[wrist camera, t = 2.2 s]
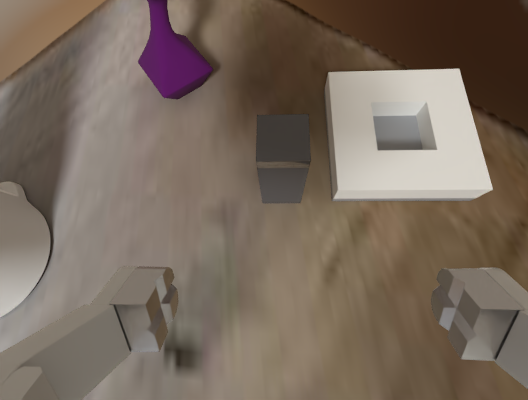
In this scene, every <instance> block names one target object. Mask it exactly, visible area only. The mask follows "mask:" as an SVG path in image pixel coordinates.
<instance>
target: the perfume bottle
mask: <svg viewBox="0 0 528 400" xmlns="http://www.w3.org/2000/svg"><path fill="white" fill-rule="evenodd" d="M147 1H148V3H149V8H150V21H151V31H150V36H149V40H148V42H147V44H146V47H145V49H144V51H143V53H142V55H141V57H140V59H139V61H138V63H139V64H140V66H141V67H142V69H143V70H144V71H145V73H146V74H147V76H148V77H149V78H150V80H151V81H152V82H153V84H154V85H155V87H156V88H157V89H158V91H159V92H160V93H161V95H162V96H163V97H164V98H170V99H179V98H181V97H183V96H185V95H186V94H188V93H190V92H192V91H193V90H195V89H197V88H198V87H200V86H201V85H202V84H203V83H204V81H205V80H206V79H207V77H208V76H209V75H210V73H211V72H212V71H213V68H212V67H211V66H210V64H209V63H208V62H207V61H206V60H205V59H204V57H203V56H202V55H201V54H200V53H199V51H198V50H197V49H196V48H195V47H194V46H193V44H192V43H191V42H190V41H189V40H188V38H187V37H186V36H183V35H180V34H176V33H175V32H174V31H173V29H172V27H171V24H170V22H169V16H168V10H167V0H147Z"/></svg>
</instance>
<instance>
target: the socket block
mask: <svg viewBox="0 0 528 400" xmlns="http://www.w3.org/2000/svg"><path fill="white" fill-rule="evenodd" d="M324 99H325V113H326V126H327V140H328V154H329V167H330V181H331V195H332V201H471V200H473V199H475V198H477V197H479V196H481V195H483V194H485V193H487V192H489V191H491V190H493V188H492V185H491V181H490V177H489V174H488V170H487V167H486V163H485V159H484V156H483V152H482V149H481V145H480V142H479V138H478V134H477V131H476V127H475V124H474V120H473V117H472V113H471V109H470V106H469V102H468V99H467V95H466V92H465V88H464V84H463V81H462V77H461V74H460V70H459V69H438V70H437V69H433V70H392V71H351V72H328V76H327V80H326V85H325V89H324Z"/></svg>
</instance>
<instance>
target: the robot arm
mask: <svg viewBox="0 0 528 400" xmlns="http://www.w3.org/2000/svg"><path fill="white" fill-rule="evenodd" d="M49 253H50V232H49V228H48V225H47V222H46V220H45V218H44V217H43V215H42V214H41V213H40V212H39V211H38V210H37V209H36V208H35V207H34V206H32V205H31V204H30V203H29V202H28V201H27V199H26V196H25V193H24V190H23V188H22V187H21V185H19V184H17V183H14V182H10V181H7V182H1V183H0V317H2V316H3V315H5V314H7V313H8V312H10V311H11V310H12V309H14V308H15V307H16V306H17V305H19V304H20V303H21V302H22V301H23V300H24V299H25V298H26V297H27V296H28V295H29V293H30V292H31V291H32V290H33V288H34V287H35V286H36V284H37V283H38V281H39V279H40V277H41V276H42V274H43V271H44V269H45V267H46V264H47V261H48V257H49ZM173 279H174V274H173V271H172V269H171V268H169V267H141V266H139V267H132V266H124V267H121V268H119V269H118V271H117V272H116V273H115V274H114V276H113V277H112V278H111V279H110V281H109V282H108V283H107V284H106V285H105V287H104V288H103V289H102V290H101V292H100V293H99V294H98V295H97V297H96V298H95V299H94V300H93V301H92V303H91V304H90V305H83V306H82V307H80V308H78V309H76V310H75V311H73V312H71V313H69V314H68V315H66V316H64V317H62V318H61V319H59V320H57V321H55V322H54V323H52V324H50V325H48V326H47V327H45V328H43V329H41V330H40V331H38V332H36V333H34V334H33V335H31V336H29V337H27V338H26V339H24V340H22V341H21V342H19V343H17V344H15V345H14V346H12V347H10V348H8V349H7V350H5V351H3V352H1V353H0V400H82V399H83V398H84V397H85V396H86V395H87V394H88V393H89V392H90V391H91V390H93V389H94V388H95V387H96V386H97V385H98V384H99V383H100V382H101V381H102V380H103V379H104V378H105V377H106V376H107V375H108V374H110V373H111V372H112V371H113V370H114V369H115V368H116V367H117V366H118V365H119V364H120V363H121V362H122V361H123V360H124V359H125V358H127V357H128V356H129V355H130V354H131V353H130V352H160V349H161V347H162V345H163V342H164V340H165V338H166V335H167V333H168V329H167V324H168V323H169V322H171V321H172V320H173V319H174V317H175V314H176V312H177V306H178V292H177V288H176V287H175V286H174V285H172V284H171V283H172V281H173ZM436 280H437V281H438V283H439V284H440V286H438V287H437V288H436V289H435V290H433V293H432V297H431V305H432V311H433V313H434V316H435V318H436V320H437V321H438V323H439V324H440V325H442V326H443V327H444V328H446V329H447V330H449V332H448V336H447V337H448V339H449V341H450V342H451V344H452V345H453V347H454V349H455V350H456V352H457V353H458V355H459V357H460V358H461V359H468V360H487V361H495V363H496V364H497V365H499V366H500V367H501V368H502V369H504V370H505V371H506V372H507V373H509V374H510V375H511V376H512V377H514V378H515V379H516V380H517V381H519V382H520V383H521V384H522V385H524V386H525V387H526V388H527V389H528V292H527V291H526V290H525V289H524V288H522V287H521V286H520V285H519V284H518V283H517V282H516V281H515V280H514V279H512V278H511V277H510V276H509V275H508V274H507V273H506V272H505V271H503V270H501V269H499V268H478V269H441V270H440V271H439V272H438V275H437V279H436Z"/></svg>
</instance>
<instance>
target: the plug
mask: <svg viewBox="0 0 528 400" xmlns="http://www.w3.org/2000/svg"><path fill="white" fill-rule="evenodd" d="M310 161H311V156H310V135H309V115H308V114H290V115H257V143H256V164H257V170H258V176H259V183H260V189H261V196H262V202H263V203H300V202H301V198H302V194H303V190H304V186H305V182H306V178H307V174H308V169H309V165H310Z"/></svg>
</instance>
